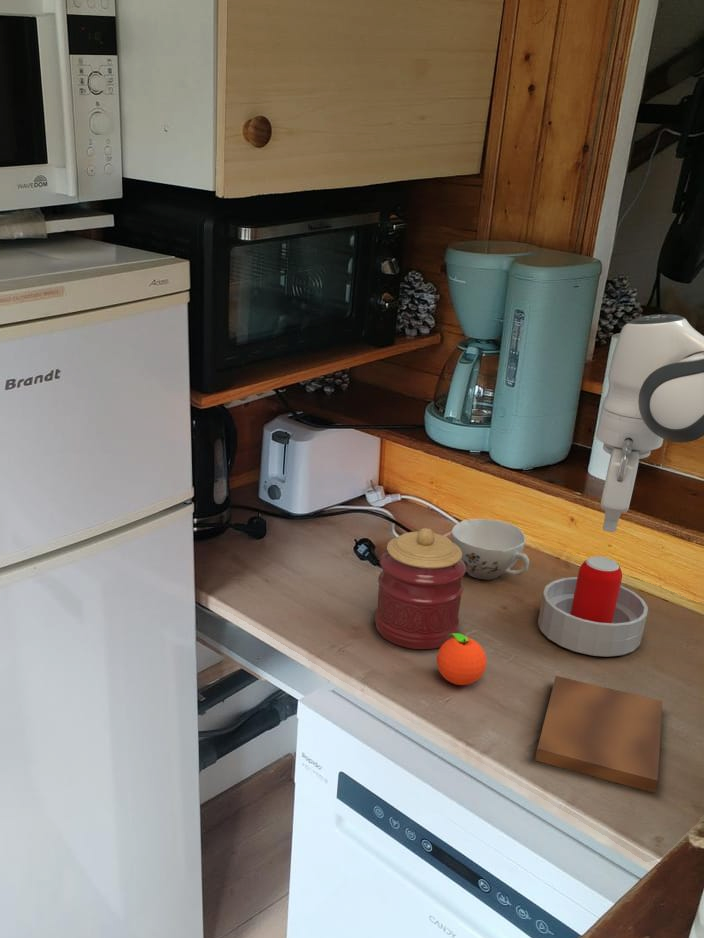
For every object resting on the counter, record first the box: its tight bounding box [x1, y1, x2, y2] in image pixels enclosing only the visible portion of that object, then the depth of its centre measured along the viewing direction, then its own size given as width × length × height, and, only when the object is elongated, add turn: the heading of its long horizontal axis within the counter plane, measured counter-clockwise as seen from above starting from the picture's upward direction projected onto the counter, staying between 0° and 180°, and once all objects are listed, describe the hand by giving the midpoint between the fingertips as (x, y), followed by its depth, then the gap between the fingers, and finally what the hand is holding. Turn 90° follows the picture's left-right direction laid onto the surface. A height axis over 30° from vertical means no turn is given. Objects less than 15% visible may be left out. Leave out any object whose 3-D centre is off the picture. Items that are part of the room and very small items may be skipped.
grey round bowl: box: [537, 576, 649, 658], centre depth 142 cm, size 15×15×6 cm
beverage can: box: [570, 556, 623, 623], centre depth 141 cm, size 6×6×12 cm
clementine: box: [436, 632, 487, 686], centre depth 130 cm, size 8×7×7 cm
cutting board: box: [534, 675, 663, 794], centre depth 119 cm, size 14×18×2 cm
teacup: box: [451, 517, 530, 581], centre depth 159 cm, size 15×12×8 cm
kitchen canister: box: [374, 527, 467, 650], centre depth 140 cm, size 13×13×18 cm
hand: (611, 517), depth 135 cm, fingers open, 8 cm apart
